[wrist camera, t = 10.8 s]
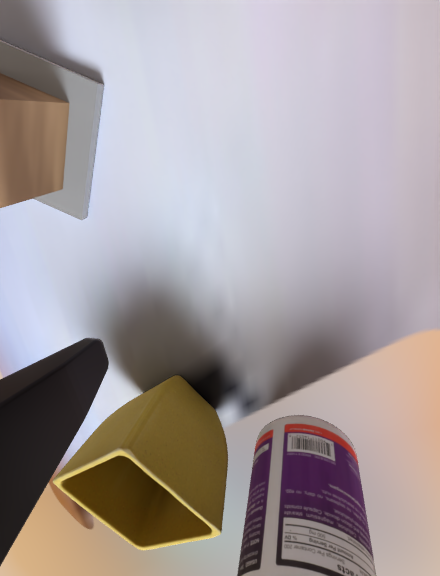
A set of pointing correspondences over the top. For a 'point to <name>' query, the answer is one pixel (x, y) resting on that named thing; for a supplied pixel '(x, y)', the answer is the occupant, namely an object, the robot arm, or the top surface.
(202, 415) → the flower pot
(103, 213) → the top surface
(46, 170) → the walnut block
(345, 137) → the top surface
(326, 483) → the pill bottle
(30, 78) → the slate tile
